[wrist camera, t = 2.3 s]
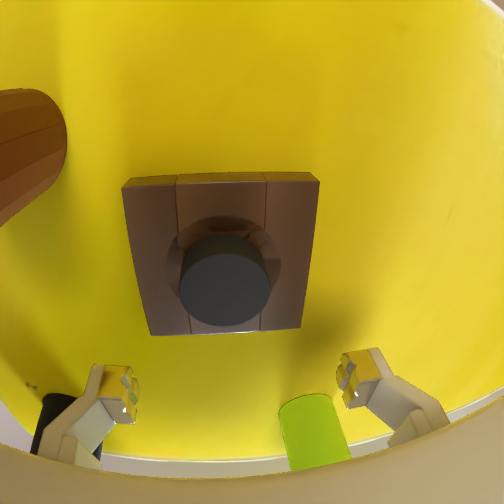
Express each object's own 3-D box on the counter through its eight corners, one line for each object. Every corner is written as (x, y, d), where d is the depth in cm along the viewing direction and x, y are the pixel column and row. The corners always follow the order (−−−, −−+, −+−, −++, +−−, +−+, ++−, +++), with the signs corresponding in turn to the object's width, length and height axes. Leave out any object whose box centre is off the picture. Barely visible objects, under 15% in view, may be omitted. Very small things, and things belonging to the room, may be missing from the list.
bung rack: (153, 318, 20) (150, 336, 19) (129, 177, 15) (120, 187, 14) (294, 311, 21) (300, 328, 20) (309, 172, 16) (320, 181, 15)
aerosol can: (121, 422, 27) (113, 584, 10) (86, 434, 29) (73, 569, 12) (60, 384, 23) (27, 564, 6) (33, 402, 25) (3, 545, 8)
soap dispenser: (277, 428, 31) (310, 582, 13) (279, 399, 27) (323, 587, 10) (325, 420, 31) (369, 565, 14) (336, 389, 28) (396, 563, 10)
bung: (187, 285, 19) (183, 329, 16) (180, 219, 17) (173, 255, 14) (258, 282, 20) (268, 324, 16) (260, 217, 17) (273, 251, 14)
